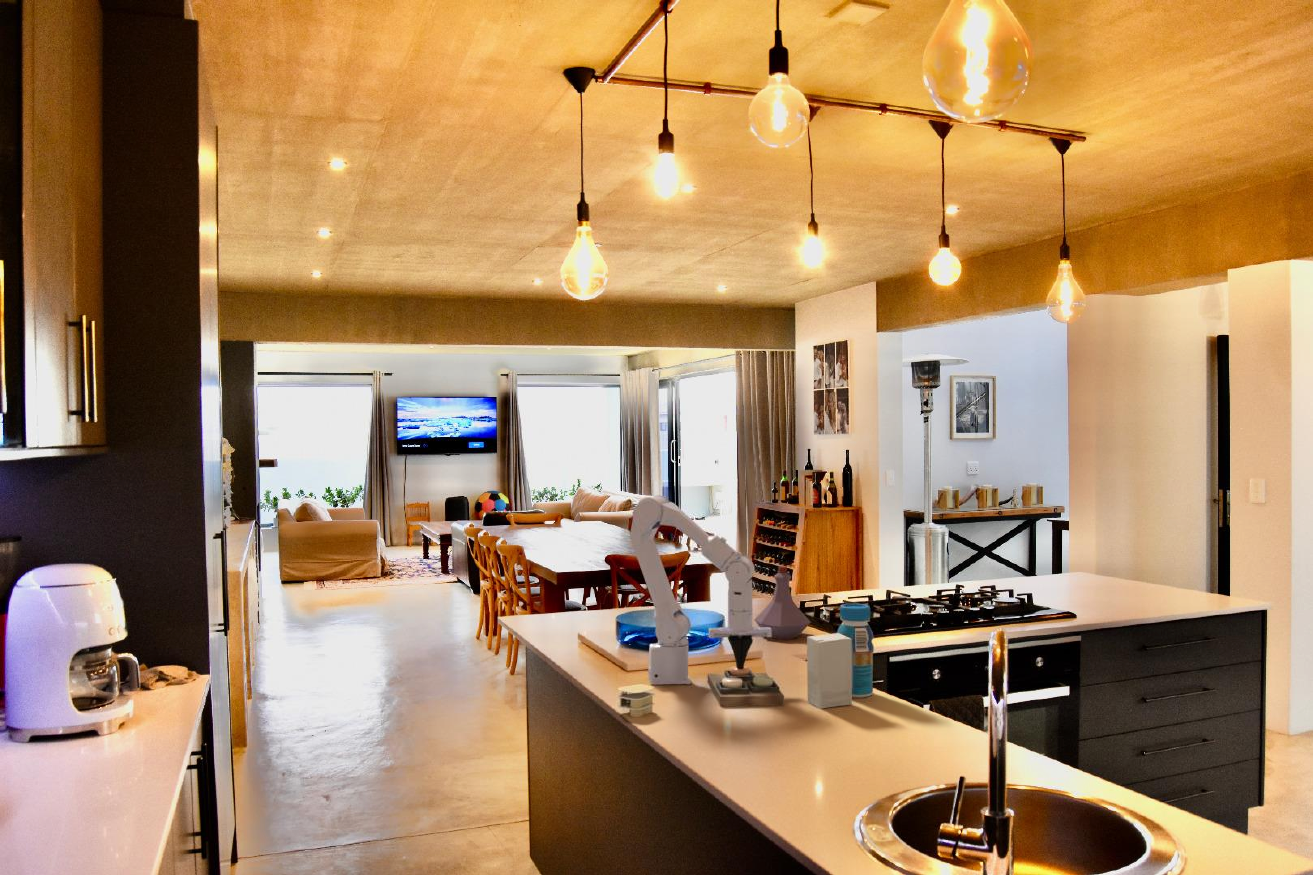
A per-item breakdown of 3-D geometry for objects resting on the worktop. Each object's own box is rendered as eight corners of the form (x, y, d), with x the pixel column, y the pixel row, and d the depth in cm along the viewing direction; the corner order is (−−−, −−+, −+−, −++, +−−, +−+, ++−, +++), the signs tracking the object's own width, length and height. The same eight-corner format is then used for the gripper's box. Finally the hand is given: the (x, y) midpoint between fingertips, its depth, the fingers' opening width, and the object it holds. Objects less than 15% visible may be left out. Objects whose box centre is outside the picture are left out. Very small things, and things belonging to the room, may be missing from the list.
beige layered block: (637, 705, 214) (637, 680, 214) (667, 713, 208) (667, 687, 208) (603, 714, 207) (603, 688, 207) (633, 724, 201) (634, 697, 201)
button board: (720, 705, 213) (720, 692, 213) (707, 682, 233) (707, 669, 233) (784, 704, 214) (784, 691, 214) (765, 681, 234) (765, 668, 234)
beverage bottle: (830, 695, 222) (831, 606, 222) (841, 686, 229) (842, 601, 229) (867, 700, 218) (868, 610, 218) (877, 691, 225) (878, 604, 225)
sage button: (754, 686, 217) (755, 681, 217) (751, 681, 222) (751, 676, 222) (774, 686, 218) (774, 681, 218) (770, 681, 222) (770, 676, 222)
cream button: (723, 688, 216) (723, 682, 216) (720, 682, 220) (720, 677, 220) (743, 687, 216) (743, 682, 216) (740, 682, 221) (740, 677, 221)
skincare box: (838, 698, 219) (839, 632, 219) (853, 705, 213) (853, 637, 213) (805, 702, 216) (805, 634, 216) (819, 709, 211) (819, 640, 210)
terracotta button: (731, 675, 227) (731, 670, 227) (728, 671, 231) (728, 666, 231) (750, 675, 227) (750, 670, 227) (747, 670, 232) (747, 665, 232)
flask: (822, 637, 284) (823, 568, 284) (779, 644, 275) (780, 572, 274) (784, 627, 297) (784, 561, 297) (742, 633, 288) (742, 565, 288)
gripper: (711, 613, 225) (711, 672, 225) (774, 612, 226) (774, 671, 226) (707, 607, 232) (707, 665, 232) (768, 606, 233) (768, 664, 233)
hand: (739, 667), depth 229 cm, fingers closed
